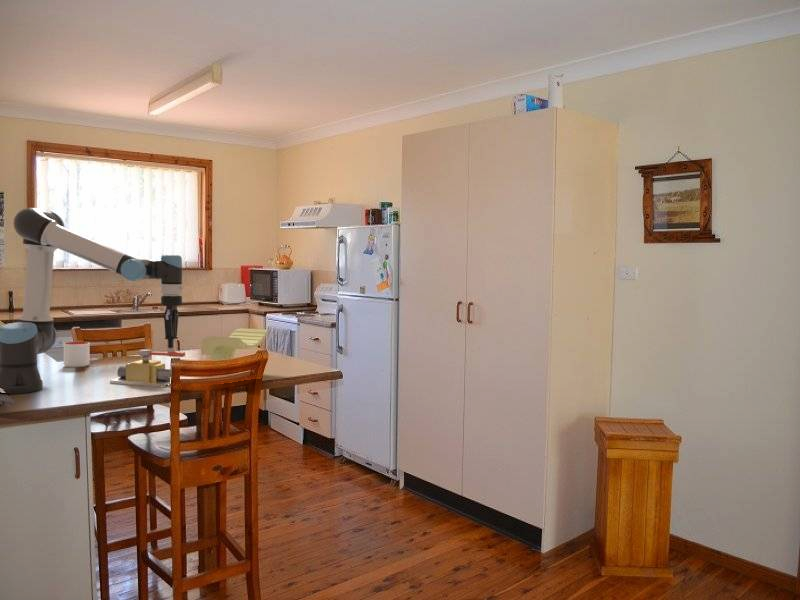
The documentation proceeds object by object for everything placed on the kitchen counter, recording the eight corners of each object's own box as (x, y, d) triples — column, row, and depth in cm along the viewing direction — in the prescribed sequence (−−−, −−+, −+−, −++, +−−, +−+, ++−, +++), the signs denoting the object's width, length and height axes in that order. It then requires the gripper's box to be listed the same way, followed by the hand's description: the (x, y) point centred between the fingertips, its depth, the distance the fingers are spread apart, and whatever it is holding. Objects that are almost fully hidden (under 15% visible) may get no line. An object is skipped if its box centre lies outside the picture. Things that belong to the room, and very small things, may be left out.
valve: (179, 381, 246) (180, 354, 245) (163, 387, 234) (163, 359, 233) (129, 377, 250) (129, 351, 249) (109, 383, 238) (110, 356, 237)
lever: (137, 355, 239) (137, 350, 239) (142, 353, 243) (142, 349, 243) (181, 357, 238) (181, 352, 238) (185, 355, 242) (186, 351, 242)
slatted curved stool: (232, 367, 279) (233, 327, 278) (266, 369, 276) (267, 329, 275) (200, 380, 249) (201, 335, 248) (238, 382, 247) (239, 337, 246)
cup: (82, 368, 266) (82, 345, 265) (58, 367, 266) (58, 344, 265) (94, 364, 276) (94, 341, 275) (71, 363, 276) (71, 341, 275)
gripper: (177, 296, 235) (176, 358, 236) (185, 294, 247) (185, 353, 249) (156, 296, 234) (156, 358, 236) (166, 293, 247) (166, 352, 249)
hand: (171, 355), depth 242 cm, fingers closed
